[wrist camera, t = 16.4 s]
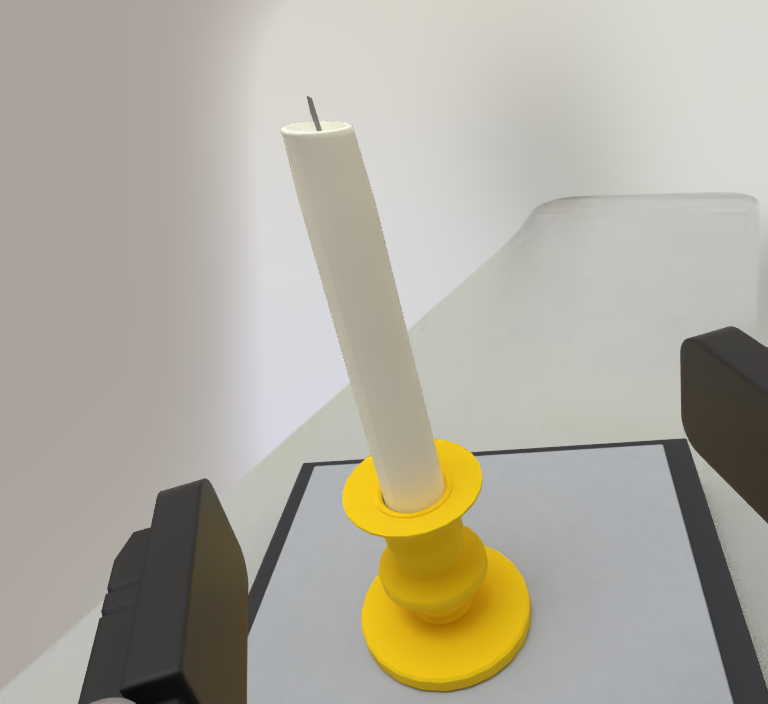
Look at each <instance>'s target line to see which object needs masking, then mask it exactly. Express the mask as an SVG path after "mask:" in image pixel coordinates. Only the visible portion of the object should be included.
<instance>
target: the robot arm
mask: <svg viewBox="0 0 768 704" xmlns="http://www.w3.org/2000/svg"><path fill="white" fill-rule="evenodd" d="M680 363H681V416H682V423H683V427H684V430H685V433H686V435H687V437H688V439H689V441H690V443H691V445H692V446H693V448H694V449H695V450H696V451H697V452H698V454H699V455H700V456H701V457H702V458H703V459H704V460H705V461H706V462H707V463H708V464H709V465H710V466H711V467H712V468H713V469H714V470H715V471H716V472H717V473H718V474H719V475H720V476H721V477H722V478H723V479H724V480H725V481H726V482H727V483H728V484H729V485H730V486H731V487H732V488H733V489H734V490H735V491H736V492H737V493H738V494H739V495H740V496H741V497H742V498H743V499H744V500H745V501H746V502H747V503H748V504H749V505H750V506H751V507H752V508H753V509H754V510H755V511H756V512H757V513H758V514H759V515H760V516H761V517H762V518H763V519H764V520H765V521H766V522H767V523H768V347H765V346H764V345H762V344H761V343H759V342H758V341H756V340H755V339H753V338H752V337H750V336H749V335H747V334H746V333H744V332H743V331H741V330H740V329H738V328H736V327H733V326H729V327H726V328H722V329H719V330H715V331H712V332H709V333H705V334H702V335H698V336H695V337H692V338H688V339H686V340H684V342H683V343H682V346H681V351H680ZM101 612H102V618H100V619H99V623H98V627H97V631H96V635H95V639H94V643H93V647H92V651H91V655H90V659H89V663H88V667H87V671H86V675H85V679H84V683H83V687H82V691H81V695H80V699H79V702H78V704H247V656H248V576H247V569H246V564H245V560H244V556H243V553H242V550H241V547H240V545H239V543H238V541H237V538H236V536H235V534H234V532H233V530H232V527H231V525H230V523H229V521H228V519H227V516H226V514H225V512H224V510H223V508H222V506H221V503H220V501H219V499H218V497H217V495H216V492H215V490H214V488H213V486H212V485H211V483H210V482H209V480H207V479H202V480H198V481H195V482H191V483H188V484H184V485H181V486H178V487H174V488H171V489H167V490H164V491H160V493H159V494H158V496H157V499H156V505H155V509H154V515H153V519H152V525H151V528H147V529H144V530H140V531H137V532H134V533H133V534H132V535H131V537H130V539H129V540H128V541H127V543H126V544H125V546H124V547H123V549H122V550H121V552H120V553H119V554H118V556H117V557H116V559H115V560H114V564H113V568H112V572H111V576H110V580H109V584H108V594H106V596H105V600H104V603H103V607H102V611H101Z"/></svg>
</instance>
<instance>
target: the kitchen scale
mask: <svg viewBox="0 0 768 704" xmlns="http://www.w3.org/2000/svg"><path fill="white" fill-rule="evenodd" d="M471 453H472V454H473V455H474V457H475V458H476V459H477V461H478V462H479V464H480V468H481V471H482V475H483V481H482V488H481V492H480V494H479V496H478V498H477V500H476V502H475V503H474V505H473V506H472V507H471V508H470V509H469V510H468V511H467V512H466V513H465V514H464V515H463V516H462V517H461V518H462V523H463V525H465V526H467V527H469V528H470V529H471V530H472V531H474V532H475V533H476V534H477V535H478V536H479V537H480V539H481V541H482V542H483V544H484V545H485V546H487V547H490V548H492V549H494V550H496V551H498V552H500V553H501V554H503V555H504V556H505V557H506V558H508V559H509V560H510V561H511V562H512V563H514V564H515V566H516V567H517V569H518V570H519V572H520V573H521V575H522V576H523V578H524V579H525V583H526V586H527V590H528V593H529V596H530V602H531V623H530V627H529V630H528V633H527V636H526V638H525V641H524V644H523V645H522V647H521V648H520V649H519V651H518V652H517V654H516V655H515V656H514V658H513V659H512V660H511V662H510V663H508V664H507V665H506V666H505V667H503V668H502V669H501V670H500V671H499V672H497V673H496V674H495V675H494V676H492V677H490V678H488V679H486V680H484V681H481V682H479V683H477V684H475V685H473V686H470V687H466V688H461V689H456V690H450V691H432V690H421V689H418V688H415V687H412V686H409V685H406V684H403V683H400V682H399V681H397V680H396V679H394V678H393V677H391V676H390V675H388V674H387V673H386V672H384V671H383V670H382V669H381V668H380V666H379V665H378V664H377V662H376V661H375V660H374V658H373V657H372V656H371V654H370V651H369V649H368V646H367V643H366V640H365V637H364V634H363V632H362V621H361V610H362V607H363V603H364V600H365V596H366V593H367V591H368V589H369V588H370V586H371V584H372V583H373V581H374V579H375V578H376V576H377V575H378V574H379V562H380V558H381V555H382V553H383V551H384V549H385V548H386V546H387V543H386V541H385V538H383V537H379V536H374V535H371V534H369V533H367V532H365V531H363V530H361V529H359V528H357V527H356V526H355V525H354V524H353V523H352V522H351V521H350V519H349V518H348V517H347V515H346V512H345V510H344V507H343V504H342V495H343V489H344V486H345V483H346V481H347V479H348V477H349V476H350V474H351V473H352V472H353V470H354V469H355V468H356V467H357V466H358V465H359V464H360V463H361V462H362V461H364V460H365V459H361V460H346V461H330V462H315V463H303V465H302V468H301V470H300V472H299V475H298V477H297V480H296V482H295V485H294V487H293V489H292V492H291V494H290V497H289V499H288V501H287V504H286V506H285V509H284V511H283V513H282V516H281V518H280V521H279V523H278V525H277V528H276V530H275V533H274V535H273V537H272V540H271V542H270V545H269V547H268V549H267V552H266V554H265V557H264V559H263V561H262V564H261V566H260V569H259V571H258V573H257V576H256V578H255V581H254V583H253V586H252V588H251V590H250V593H249V595H248V656H247V704H768V690H767V687H766V684H765V680H764V677H763V674H762V671H761V668H760V665H759V662H758V659H757V656H756V653H755V649H754V646H753V643H752V640H751V637H750V634H749V631H748V628H747V625H746V622H745V619H744V615H743V612H742V609H741V606H740V603H739V600H738V597H737V594H736V591H735V588H734V584H733V581H732V578H731V575H730V572H729V569H728V566H727V563H726V560H725V557H724V553H723V550H722V547H721V544H720V541H719V538H718V535H717V532H716V529H715V526H714V523H713V519H712V516H711V513H710V510H709V507H708V504H707V501H706V498H705V495H704V492H703V488H702V485H701V482H700V479H699V476H698V473H697V470H696V467H695V464H694V461H693V457H692V454H691V451H690V448H689V445H688V442H687V439H669V440H654V441H638V442H623V443H608V444H592V445H577V446H561V447H546V448H531V449H515V450H500V451H484V452H471Z"/></svg>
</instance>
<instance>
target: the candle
mask: <svg viewBox="0 0 768 704" xmlns="http://www.w3.org/2000/svg"><path fill="white" fill-rule="evenodd" d="M307 99H308V103H309V108H310V113H311V115H312V118H313V122H301V123H295V124H290V125H287V126H285V127H283V128H282V129H281V133H282V135H283V138H284V142H285V146H286V150H287V155H288V158H289V163H290V167H291V171H292V175H293V180H294V183H295V188H296V192H297V196H298V200H299V204H300V207H301V211H302V214H303V218H304V221H305V225H306V228H307V232H308V235H309V239H310V242H311V246H312V249H313V253H314V256H315V259H316V263H317V267H318V270H319V274H320V277H321V281H322V284H323V288H324V291H325V295H326V298H327V301H328V305H329V309H330V312H331V316H332V319H333V323H334V326H335V329H336V333H337V337H338V340H339V344H340V347H341V351H342V354H343V358H344V361H345V365H346V368H347V372H348V375H349V379H350V382H351V386H352V389H353V393H354V396H355V400H356V403H357V407H358V410H359V414H360V417H361V421H362V424H363V428H364V431H365V435H366V438H367V442H368V445H369V449H370V452H371V455H370V456H369V457H367V458H366V459H365V460H364V461H362V462H361V463H360V464H359V465H358V466H357V467H356V468H355V469H354V470H353V472H352V473H351V474H350V476H349V477H348V479H347V481H346V483H345V486H344V489H343V495H342V504H343V507H344V510H345V512H346V515H347V517H348V518H349V519H350V521H351V522H352V523H353V524H354V525H355V526H356V527H357V528H359V529H361V530H363V531H365V532H367V533H369V534H371V535H374V536H379V537H383V538H385V541H386V543H387V546H386V548H385V549H384V551H383V553H382V555H381V558H380V562H379V574H378V575H377V576H376V578H375V579H374V581H373V583H372V584H371V586H370V588H369V589H368V591H367V593H366V596H365V600H364V603H363V607H362V610H361V621H362V632H363V634H364V637H365V640H366V643H367V646H368V649H369V651H370V654H371V656H372V657H373V658H374V660H375V661H376V662H377V664H378V665H379V666H380V668H381V669H382V670H383V671H384V672H386V673H387V674H388V675H390V676H391V677H393V678H394V679H396V680H397V681H399V682H400V683H403V684H406V685H409V686H412V687H415V688H418V689H421V690H432V691H450V690H456V689H461V688H466V687H470V686H473V685H475V684H477V683H479V682H481V681H484V680H486V679H488V678H490V677H492V676H494V675H495V674H496V673H497V672H499V671H500V670H501V669H502V668H503V667H505V666H506V665H507V664H508V663H510V662H511V660H512V659H513V658H514V656H515V655H516V654H517V652H518V651H519V649H520V648H521V647H522V645H523V644H524V641H525V638H526V636H527V633H528V630H529V627H530V623H531V602H530V596H529V593H528V590H527V586H526V583H525V579H524V578H523V576H522V575H521V573H520V572H519V570H518V569H517V567H516V566H515V564H514V563H512V562H511V561H510V560H509V559H508V558H506V557H505V556H504V555H503V554H501V553H500V552H498V551H496V550H494V549H492V548H490V547H487V546H485V545H484V544H483V542H482V541H481V539H480V537H479V536H478V535H477V534H476V533H475V532H474V531H472V530H471V529H470V528H469V527H467V526H465V525H463V523H462V518H461V517H462V516H463V515H464V514H465V513H466V512H467V511H468V510H469V509H470V508H471V507H472V506H473V505H474V503H475V502H476V500H477V498H478V496H479V494H480V492H481V488H482V481H483V475H482V471H481V468H480V464H479V462H478V461H477V459H476V458H475V457H474V455H473V454H472V453H471V452H470V451H468V450H467V449H465V448H464V447H462V446H461V445H458V444H455V443H452V442H450V441H447V440H439V439H433V435H432V431H431V426H430V422H429V418H428V414H427V410H426V406H425V402H424V398H423V394H422V390H421V386H420V382H419V378H418V374H417V370H416V366H415V361H414V357H413V353H412V349H411V345H410V341H409V337H408V333H407V329H406V325H405V321H404V317H403V313H402V309H401V305H400V301H399V297H398V292H397V289H396V284H395V280H394V276H393V272H392V268H391V264H390V260H389V256H388V252H387V248H386V244H385V240H384V236H383V231H382V227H381V223H380V219H379V215H378V211H377V207H376V203H375V200H374V197H373V193H372V190H371V187H370V183H369V179H368V176H367V173H366V169H365V166H364V162H363V159H362V156H361V152H360V149H359V145H358V142H357V138H356V135H355V132H354V129H353V127H352V126H351V125H350V124H348V123H344V122H334V121H319V120H318V117H317V114H316V111H315V108H314V104H313V101H312V98H310V97H308V96H307Z"/></svg>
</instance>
